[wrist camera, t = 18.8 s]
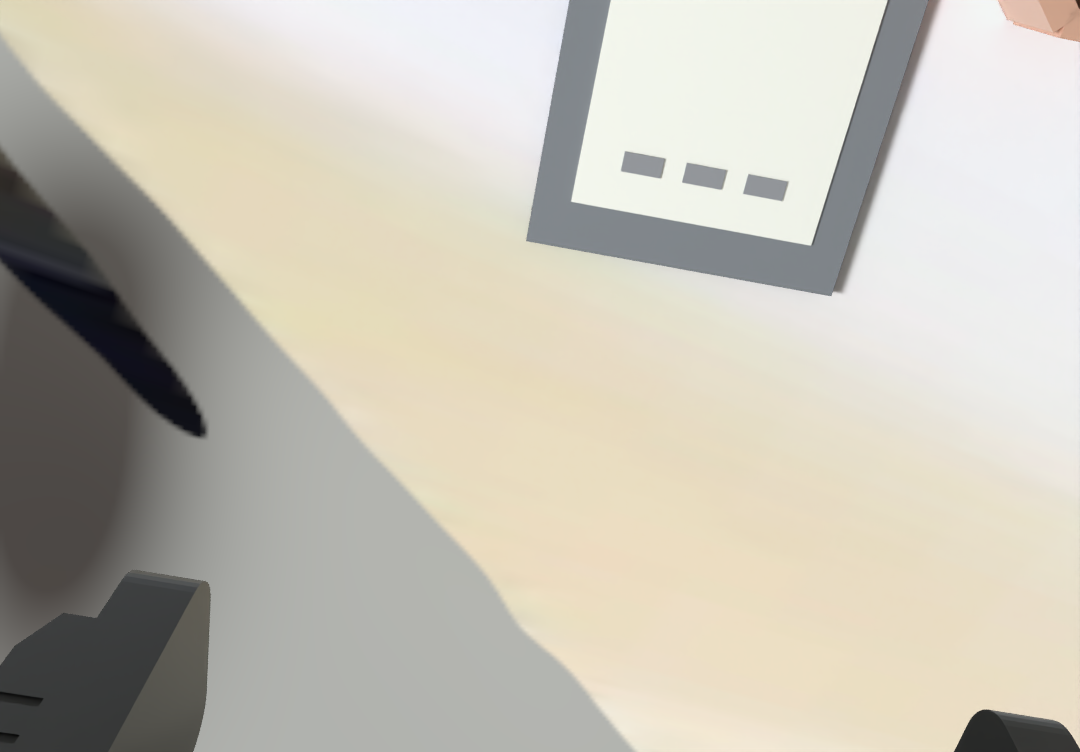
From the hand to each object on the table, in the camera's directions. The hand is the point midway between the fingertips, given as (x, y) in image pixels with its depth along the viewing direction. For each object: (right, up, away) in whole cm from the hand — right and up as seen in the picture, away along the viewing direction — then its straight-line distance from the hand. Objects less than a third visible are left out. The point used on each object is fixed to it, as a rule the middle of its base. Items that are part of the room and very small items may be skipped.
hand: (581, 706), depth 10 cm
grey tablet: (+7, +16, +28) cm, 33 cm away
